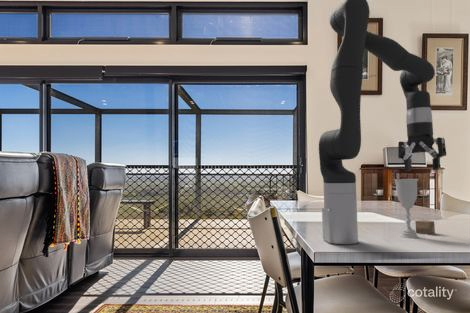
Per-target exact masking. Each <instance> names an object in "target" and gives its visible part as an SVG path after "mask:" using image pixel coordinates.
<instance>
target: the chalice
mask: <svg viewBox="0 0 470 313" xmlns="http://www.w3.org/2000/svg"><path fill="white" fill-rule="evenodd" d="M418 181H419V178H395V179H394V182H395V188H396V191H395V192H396V197H397V199H398V202H399V203H400V204H401V207H402V208H403V209H405V214H404V215H405V220H404V222H406V223H405V224H406V226H405V228H403V229H401V232H400V235H399V236H400V237H401V238H407V239H418V238H419V236H418V235H417V233H416V229H413V228H412V227H411V222H412V220H411V213H410V209H412V208H413V206H414V205H415V203H416V201H417V198H418Z"/></svg>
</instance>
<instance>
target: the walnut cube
mask: <svg viewBox="0 0 470 313" xmlns="http://www.w3.org/2000/svg"><path fill="white" fill-rule="evenodd" d="M435 227H436V226H435V221H434V220H433V221H432V220H426V219H425V220H424V219H420V220H415V232H416V234H419V235H426V234H427V236H429V235H430V234H431V235H434V233H435V234H436V228H435Z"/></svg>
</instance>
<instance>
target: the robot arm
mask: <svg viewBox="0 0 470 313" xmlns="http://www.w3.org/2000/svg"><path fill="white" fill-rule="evenodd" d="M370 12H371V11H370V5H369V2H368V0H344V1H343V2H342V3H341V4H339V5H338V6H337V7H336V9H334V10H333V11H332V12H331V14H330V15H329V16H330V17H329V25H330V27H331V29H332V30H333V31H334V32H335V33H336V34H338V35H339V36H341V37H342V41H341V44H340V46H339V48H338V51H337V53H336V55H335V56H334V57H335V58H334V60H333V62H332V65H331V71H330V80H329V81H330V83H329V87H330V92H331V95H332V97H333V98H334V101H335V102H336V104H337V106H338V108H339V110H340V111H339V112H340V125H339V126H340V127H339V128H337V129H332V130H326V131H325V132H323V133H322V134H321V135H320V138H319V141H318V155H319V157H318V158H319V167H320V168H319V169H320V173H321V176H322V179H323V207H322V209H321V216H322V217H321V218H322V221H321V222H322V239H323V240H324V241H325V242H327V243H328V244H335V245H336V244H338V245H355V244H357V243H359V231H358V230H359V225H358V223H359V222H358V207H357V206H358V203H357V202H358V201H357V200H358V199H357V198H358V197H357V178H356V177H357V176H356V173H354V172H353V171H350V170H348V169H347V168H345V166H344V165H343V161H346V160H353V159H356V157H358V156H359V153H360V151H361V148H362V127H361V126H362V125H361V124H362V123H361V102H362V101H361V100H362V97H361V96H362V85H363V75H364V74H363V73H364V71H363V70H364V68H363V67H364V66H363V65H364V57H365V56H364V55H365V50H366V51H367V52H368V53H370V54H372V55H374V56H375V57H376V58H377V59H379V60H380V61H381V62H382V63H384V64H385V65H386V66H387V67H388V68H390V69H391V70H392V71H394V72H399V71H401V73H400V75H399V84H400V86H401V89H402V91H403V95H404V97H405V101H406V118H405V119H406V120H405V121H406V122H405V123H406V134H407V135H406V136H407V140H406V141H399V142H397V143H398V145H397V146H398V148H397V149H398V153H397V156H398V159H402V160H403V161H404V169H405V170H406V172H411V171H412V170H413V167H412V158H413V156H414V155H416V154H417V153H419V154H420V153H428V154H429V155H430V156H431V157H432V170H433V171H439V169H440V168H441V158H443V157H446V156H447V149H446V148H447V147H446V141H445V140H446V139H445V138H444V137H437V138H434V128H433V126H434V125H433V113H432V107H431V95H430V92H429V91H427V90H420V89H419V86H420V85H423V84H426V83H429V82H430V81H432V79H434V77H435V74H436V72H435V71H436V70H435V68H434V65H433V64H432V63H431V62H429V61H428V60H427V59H425V58H422V57H420V56H418V55H416V54H415V53H411V52H409V51H408V50H407V49H406V48H404V47H403V46H402V45H401V44H400V43H399V42H398V41H396V40H395V39H392V38H390V37H387V36H383V35H380V34H375V33H372V32H371V31H369V30H368V27H369V26H368V25H369V20H370V14H371V13H370ZM434 144H436V146H437V150H436V149H435V148H434V147H433V145H434ZM407 146H408V149H407V151H406V148H407ZM437 151H438V152H437Z"/></svg>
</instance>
